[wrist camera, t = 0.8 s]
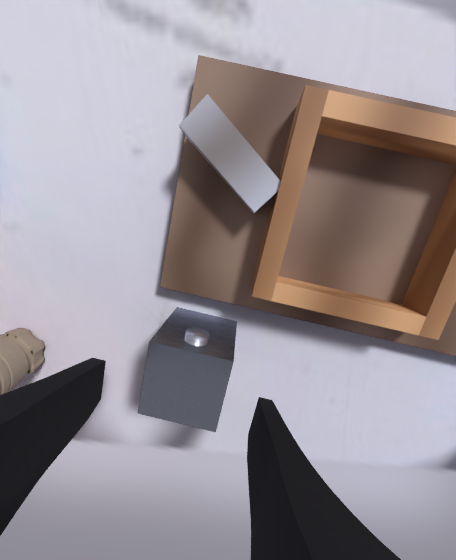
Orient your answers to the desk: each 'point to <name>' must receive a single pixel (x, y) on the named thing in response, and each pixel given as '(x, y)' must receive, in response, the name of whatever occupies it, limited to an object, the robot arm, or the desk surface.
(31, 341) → the handle
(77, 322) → the desk surface
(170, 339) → the block
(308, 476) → the robot arm
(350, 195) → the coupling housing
